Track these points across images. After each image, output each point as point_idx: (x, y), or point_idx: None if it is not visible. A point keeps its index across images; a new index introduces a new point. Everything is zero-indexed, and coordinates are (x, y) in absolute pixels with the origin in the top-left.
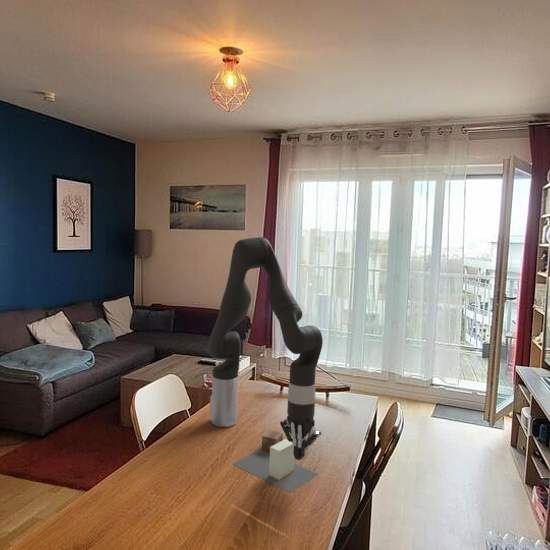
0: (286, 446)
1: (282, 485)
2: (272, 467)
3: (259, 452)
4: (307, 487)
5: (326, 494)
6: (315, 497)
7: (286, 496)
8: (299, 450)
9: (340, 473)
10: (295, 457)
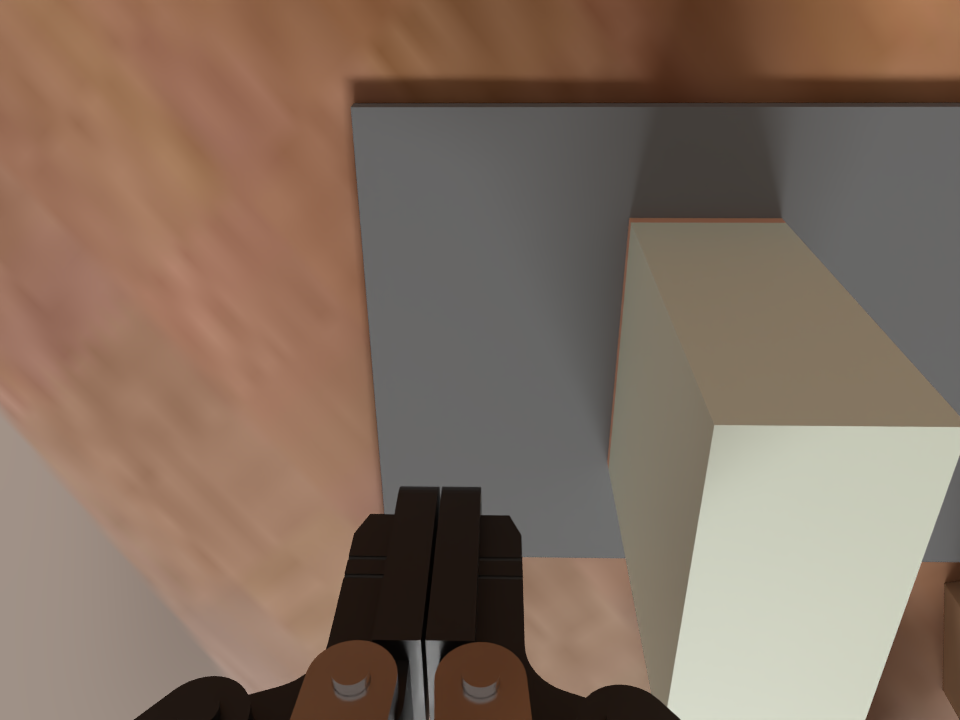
0: (705, 605)
1: (526, 162)
2: (768, 266)
3: None
4: (320, 330)
5: (107, 354)
6: (133, 241)
7: (359, 26)
8: (380, 608)
9: (275, 663)
10: (460, 496)
